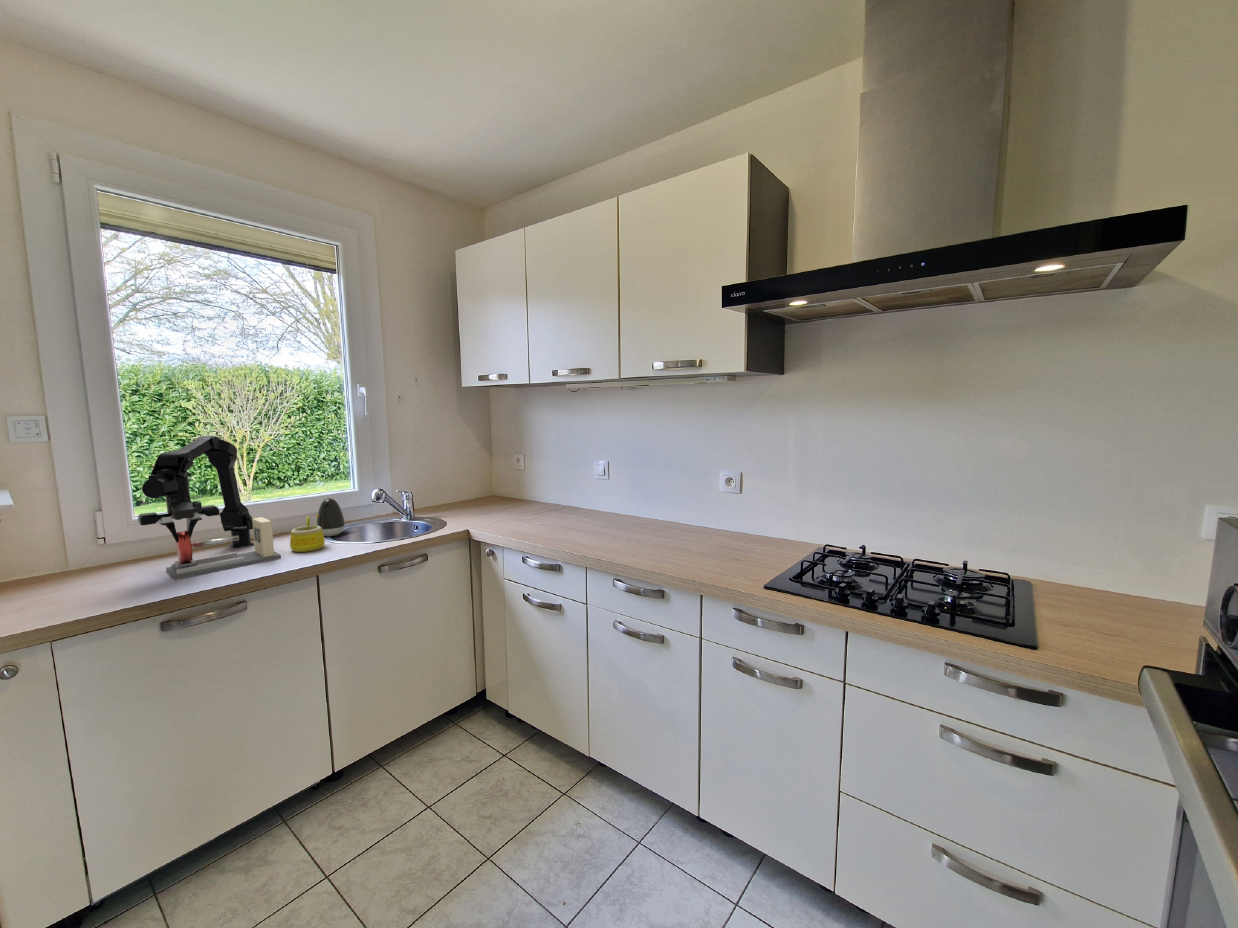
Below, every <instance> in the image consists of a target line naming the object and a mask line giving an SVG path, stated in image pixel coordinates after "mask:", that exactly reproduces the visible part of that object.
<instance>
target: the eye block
mask: <svg viewBox="0 0 1238 928" xmlns="http://www.w3.org/2000/svg"><path fill="white" fill-rule="evenodd" d="M252 518H253V517H252ZM252 523H253V529H252V532H253V541H254V542H253V543H254V550H253V551H248V552H242V553H238V552H237V551H235V552H229V553H223V554H218V555H214V556H213V555H212V556H207V557H201V558H196V559H194V560H195V561H196V563H197V566H192V567H187V568H182V569H176V568H175V566H174V562H173V563H171V564H170V566H166V568H165V569H166V572H167V573H168V575H169V576H170V577H171V578H172V579H173V580H174V581H176V580H181V579H185V578H190V577H194V576H199V575H205V574H209V573H214V572H219V571H225V570H229V569H234V568H239V567H243V566H249V565H252V564H258V563H265V562H270V561H275V560H279V559H282V557H281V554H280V553H278V552H277V551H275V548H274V547H275V546H274V535H273V525H272V520H270V519H268V518H265V517H263V516H262V517H260V516H259V517H254V518H253V519H252Z"/></svg>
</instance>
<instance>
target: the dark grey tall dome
mask: <svg viewBox="0 0 1238 928" xmlns="http://www.w3.org/2000/svg"><path fill="white" fill-rule="evenodd" d="M317 514H318V515H319V516H318V517H317V516H316V517H317V521H316V524H315V526H320V527H322V531H323V536H324V537H334V536H338V535H340V534H342V532H343V531H344V529H345V526H346V521H345V516H344V513H343V511H342V509H341V506H340V505H339V502H337V500H336V499H334V498H331V497H329V498H325V499H323V500H322V502H321V503H320V506H319V508H318V511H317Z"/></svg>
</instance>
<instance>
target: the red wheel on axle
mask: <svg viewBox="0 0 1238 928" xmlns="http://www.w3.org/2000/svg"><path fill="white" fill-rule="evenodd" d="M176 532H177V536H178V543H177V542H176V541H175V540H174V542H175V548H176V549H175V550H176V554H177V559H178V560H176V561H173V563H174V566H175V568H176V569H182V568H187V567H192V566H197V563H196V561H195V559H193V549H195V548H201V547H202V548H203V547H206V546H212V545H219V544H224V543H225V544H227V543H230V542H231V543H232V541H238V540H239V536H233V537H231V536H228V537H221V538H215V539H208V540H203V541H198V542H192V540H191V539H190V536H189V533H188V531H187V530H183V531H182V530H181V531H176Z"/></svg>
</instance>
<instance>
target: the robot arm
mask: <svg viewBox="0 0 1238 928" xmlns="http://www.w3.org/2000/svg"><path fill="white" fill-rule="evenodd" d="M202 455H205V456H207V459H208V462H209V464H210V465H211V466H213V467H214V468H215V470H216V472H217V477H218V481H219V486H220V490H221V495H222V500H223V504H224V507H223V509H222V511H220V508H219V507H217V506H216V505H215V504H214V505H213V504H210V505H203V506H202V501H201V500H195V501H191V493H190V485H189V477H192V475H193V474H192V473H191V472H188V471H189V469H190V468H192V466H193V465H194V461H195V460H196V459H197V458H199V457H201V456H202ZM237 460H238V448H237V447H236V446H235V445H234V444H232V443H231V442H229V441H227V440H224V439H220V438H219V437H218V436H215V435H199V436H198V437H197V438H196V439H195V440H193V441H191V442H189V443H187V444H186V445H184V446H182V447H180V448H179V449H176V450H170V451H165V452H163V453H160V454H159V455H158V456H157V458H156V461H155V463H154V465H153V468H152V470H151V472H150V475H148V479H147V480H146V481H145V482H143V484H142V486H141V492H142V493H143V495H145V496H146V497H147V498H149V499H158V498H162V497H165V503H166V512H167V513H159V514H158V513H157V512H145V513H140V514H138V515H137V521H138V525H140V526H148V525H155V524H157V523H159V525H161V526H165V527H166V528H167V529H168V530H169V532H170V534H171V535H172V538H173V539H174V542H175V541H176V542H177V543H178V536H177V532H178V531H177V529H176V526H175V521H173V520H176V521H179V520H183V519H186V531H188V533H189V536H190V540H191V538H192V535H193V532H194V529H195V526H196V524H197V523H198V522H199V521H202V520H203V518H202V515H204V516H206V517H214V516H215V517H217V516H219V518H220V523H221V525H222V529H223V531H224V532H230V537H233V536H239V540H238V541H232V542H231V543H228V545H229V547H231V548H232V549H235V548H236V549H237V548H243V547H248V546H253V545H254V546H255V544H254V542H253V541H252V540H251V538H252V537H251V530H253V523H252V519H253V517H252V515H251V514H250V511H249V508H247V507H246V505H245V504H243V503H242V501H241V495H240V492H239V487H238V482H237V477H236V473H235V468H234V465H235V463H236V462H237Z"/></svg>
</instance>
